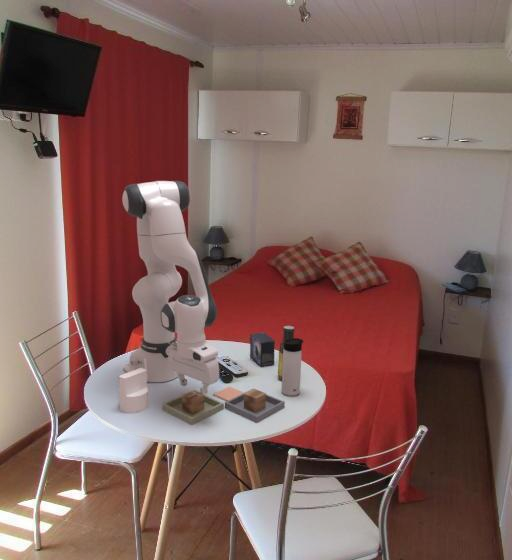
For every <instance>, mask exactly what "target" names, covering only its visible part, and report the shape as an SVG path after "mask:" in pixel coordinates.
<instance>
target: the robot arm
mask: <svg viewBox="0 0 512 560" xmlns="http://www.w3.org/2000/svg"><path fill="white" fill-rule="evenodd" d="M121 199H122V205H123V208H124V210H125V212H126V214H128V215H129V216H132V217H135V218H136V234H137V245H138V253H139V257H140V259H141V260H143V262H144V265H145V267H146V270H147V275H144V276H143V277H142V278H140V279H139V280H138V281H137V282H136V283H135V285H134V286H133V288H132V289H131V290H132V292H131V295H132V299H133V301H134V303H135V304H136V305H137V306H139V309H140V313H141V316H142V321H143V322H142V324H143V325H142V326H143V327H142V329H143V337H141V338H140V339H139V342H141V344H140V346H139V347H138V348H137V349H136V350H134V351H133V352H131V354H130V355H129V362H128V363H126V364H125V365H124V366H123V368H122V370H123V371H124V372H125V373H128V372H131V371H134V370H136V369H139V368H143V369H145V370H147V383H163V382H169V381H172V380H175V379H176V378H178V379H179V384H180V386H182V387H185V386H187V385H188V379H186V377H189V378H191V379H194V380H197V381H199V382H201V384H202V387H200V388H199V392H200V393H202V394H204V395H206V394H208V387H209V386H210V385H213V384H216V383H217V382H218V381H219V379H220V366H219V365H220V364H219V360H218V358H217V357H218V356H219V351H218V350H217V349H216V348H215V347H214V346H213V345H212V344H210V343H209V342H208V341H207V340H206V338H207V337H206V334H205V328H209V327H211V326H212V325H213V324H214V323H215V322H216V320H217V318H218V312H219V311H218V307H217V305H216V301H215V299H214V298H213V295H212V291H211V289H210V285H209V282H208V278H207V275H206V271H205V268H204V265H203V261H202V258H201V257H200V256H201V255H200V253H199V252H198V250H197V249H196V248H193V247H192V246H191V244H190V242H189V240H188V236H187V232H186V226H185V222H184V217H183V214H182V212H184V211H186V210H187V209H188V207H189V206H190V203H191V202H190V201H191V193H190V191H189V188H188V186H187V184H186V183H185V182H183V181H179V180H171V181H169V180H155V181H150V182H141V183H132V184H128V185H126V186H125V187H124V189H123V193H122V197H121ZM176 266H179V267H181V268H183V269H184V270H186V271H187V272H188V274H189V277H190V279H191V283H192V287H193V289H194V293H195V295H194V294H193V295H192V294H184V295H181V296H179V297H178V298H177V299H176V300H175V301H170V302H169V300H170V298H172V297H174V296H175V295H176V294H177V293H178V292H179V291H180V288H182V284H183V278H182V276H181V274H180V272H179V271H177V267H176ZM175 334H177V335H175ZM176 336H177V337H176Z"/></svg>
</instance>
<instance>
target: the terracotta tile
mask: <svg viewBox="0 0 512 560" xmlns="http://www.w3.org/2000/svg"><path fill="white" fill-rule="evenodd" d="M243 393H245V392H244V391H241V390H240V389H237V388H234V387H232V386H227V387H226V388H223V389H221V390H219V391H217V392H214V393H213V395H212V396H214V397H217V398H218V399H220V400H224V401H225V402H226V401H228V400H231V399H233V398H235V397H237V396H239V395H241V394H243Z"/></svg>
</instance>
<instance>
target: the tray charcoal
mask: <svg viewBox="0 0 512 560" xmlns="http://www.w3.org/2000/svg"><path fill="white" fill-rule="evenodd" d="M253 389H254V388H251V389H249V390H247V391H245V392H244V393H246V392H248V391H251V390H253ZM244 393H243V394H241V395H239V396H237V397H235V398H233V399H231V400H228V401H225V402H224V409H226V410H228V411H230V412H232V413H234V414H237V415H239V416H241V417H243V418H246V419H247V420H250V421H252V422H254V423H256V424H257V423H259V422H262V421H264V420H265V419H267V418H268V417H270V416H271V415H273V414H275V413H277V412H278V411H281V410H283V409H284V408H285V407H286V406H285V403H286V401H285V400H282V399H279V398H277V397H274V396H272V395H269V394H267V393H266V408H264V409H262V410H260V411H258V412H256V413H255V412H252V411H250V410H248V409H245V408H244Z"/></svg>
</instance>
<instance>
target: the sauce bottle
mask: <svg viewBox="0 0 512 560" xmlns="http://www.w3.org/2000/svg"><path fill="white" fill-rule="evenodd" d="M282 330H283V337H282V340H281V341H280V343H279V348H278V349H279V351H278V362H277V363H278V364H277V378H278V380H280V381H282V370H283V348H284V341H285V340H287V339H291V338H295V335H294V334H295V327H294V326H291V325H285V326H283V329H282Z"/></svg>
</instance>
